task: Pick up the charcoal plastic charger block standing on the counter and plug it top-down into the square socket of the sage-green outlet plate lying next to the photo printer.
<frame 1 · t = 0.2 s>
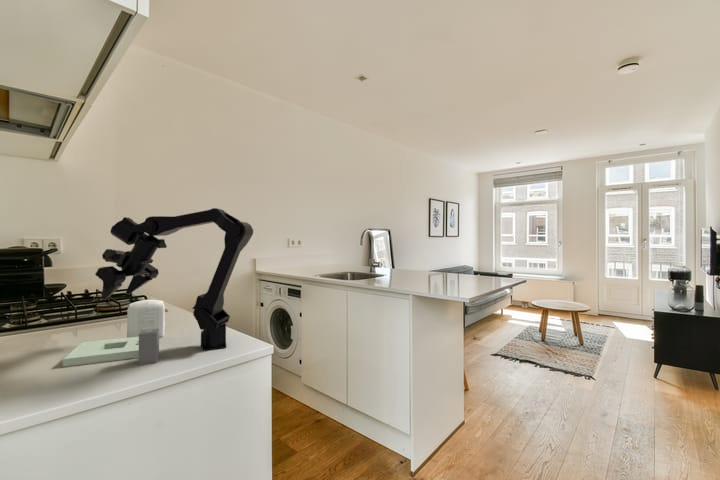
hand: (116, 296, 99), 15 cm above the countertop, tool tilted 30°, fingers open, 9 cm apart
outlet plate: (114, 352, 92), on the countertop
charger: (149, 361, 86), on the countertop
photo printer: (146, 338, 105), on the countertop
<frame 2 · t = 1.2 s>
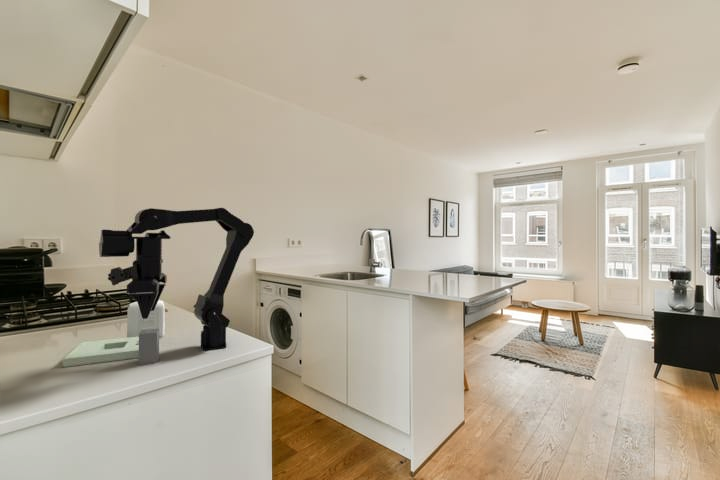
hand: (148, 314, 86), 12 cm above the countertop, tool pointing down, fingers open, 9 cm apart
nothing on the countertop moved.
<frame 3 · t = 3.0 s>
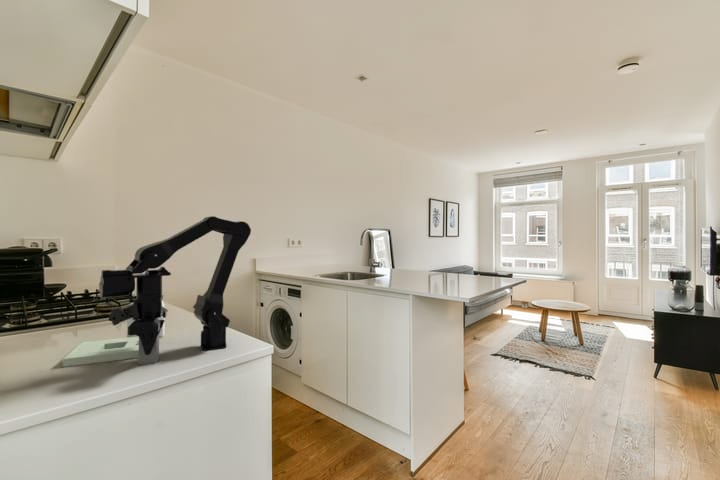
hand: (149, 351, 86), 3 cm above the countertop, tool pointing down, fingers closed on charger, 4 cm apart
charger: (149, 361, 86), on the countertop, touching gripper
everything else where it was.
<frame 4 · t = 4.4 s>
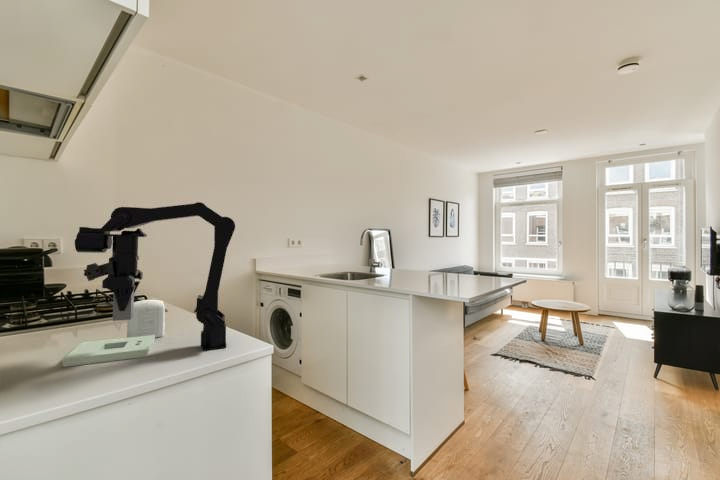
hand: (123, 309, 89), 13 cm above the countertop, tool pointing down, fingers closed on charger, 4 cm apart
charger: (123, 318, 89), point 10 cm above the countertop, touching gripper
everything else where it was.
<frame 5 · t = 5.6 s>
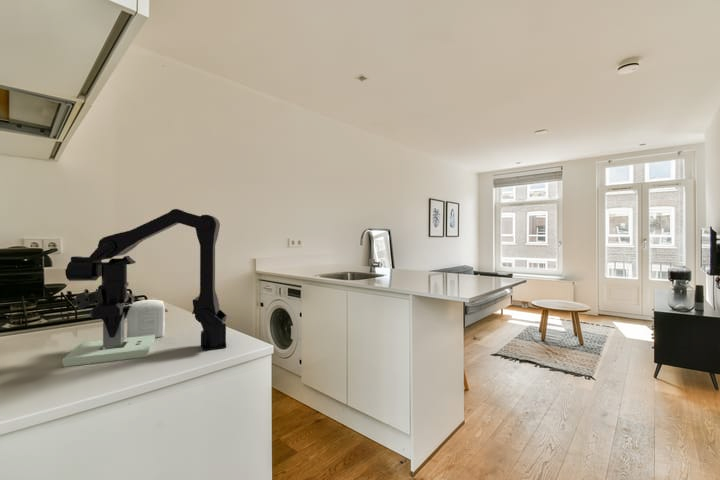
hand: (114, 335, 92), 5 cm above the countertop, tool pointing down, fingers closed on charger, 4 cm apart
charger: (113, 343, 92), point 3 cm above the countertop, touching gripper
everything else where it was.
when the fingers open (3 cm above the countertop, at t = 6.2 s): charger stays where it is, resting on outlet plate.
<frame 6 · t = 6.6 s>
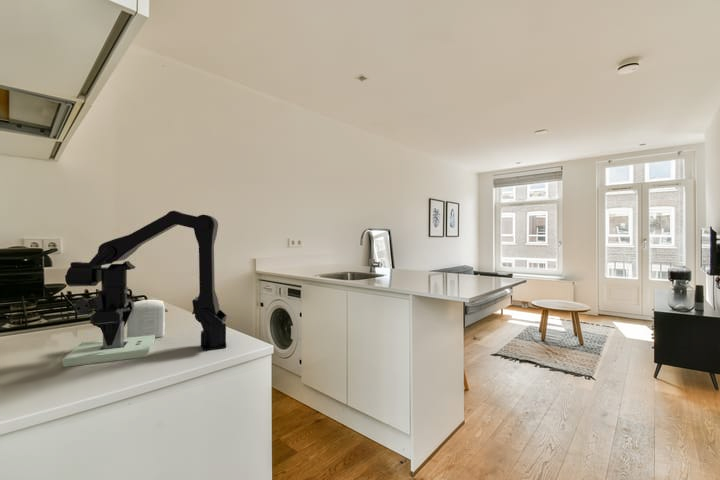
hand: (114, 340, 92), 3 cm above the countertop, tool pointing down, fingers open, 9 cm apart
charger: (113, 351, 92), resting on outlet plate
everything else where it was.
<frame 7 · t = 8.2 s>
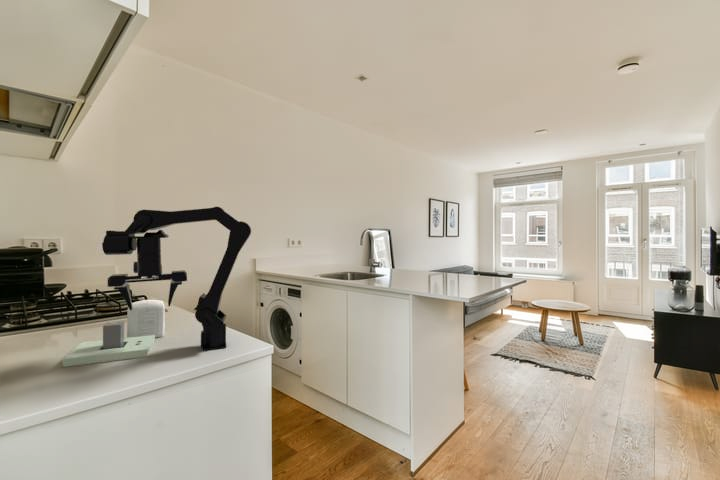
hand: (150, 307, 93), 13 cm above the countertop, tool pointing down, fingers open, 9 cm apart
nothing on the countertop moved.
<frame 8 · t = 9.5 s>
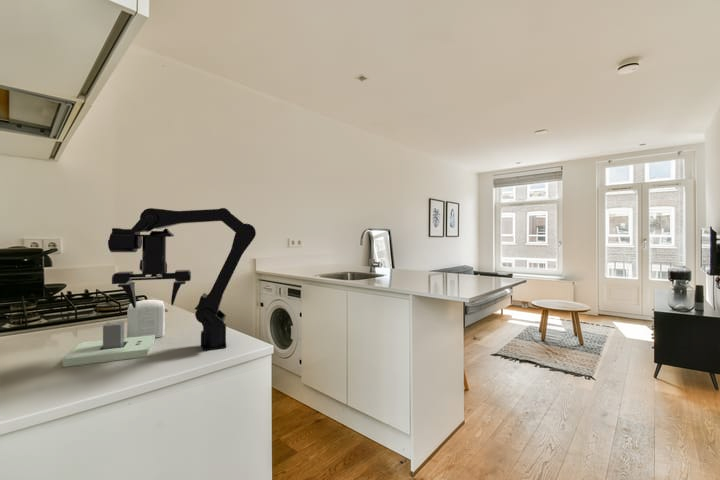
hand: (153, 306, 93), 13 cm above the countertop, tool pointing down, fingers open, 9 cm apart
nothing on the countertop moved.
at the end: charger 0.0 cm off-centre on the outlet plate, point 0.3 cm above the outlet plate's base; charger tilted 0°; the gripper is holding nothing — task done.
